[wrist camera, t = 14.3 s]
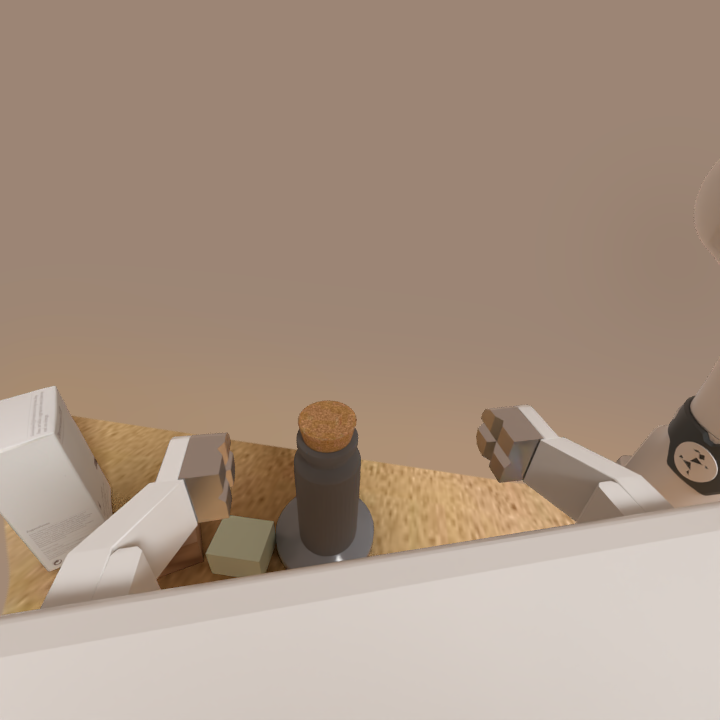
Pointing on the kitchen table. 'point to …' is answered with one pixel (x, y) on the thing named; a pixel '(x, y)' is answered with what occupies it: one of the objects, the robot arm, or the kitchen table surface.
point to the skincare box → (48, 476)
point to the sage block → (241, 546)
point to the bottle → (327, 477)
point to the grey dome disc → (300, 556)
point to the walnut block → (187, 553)
